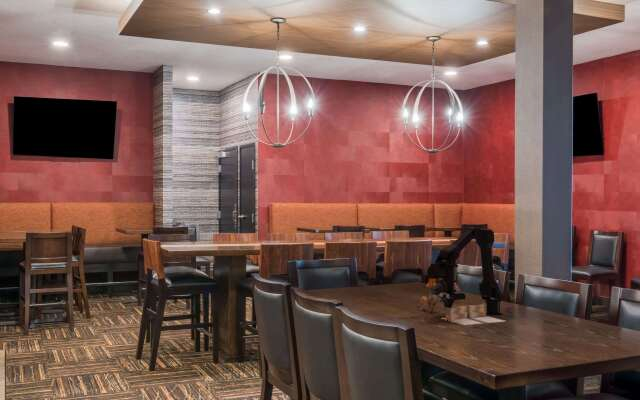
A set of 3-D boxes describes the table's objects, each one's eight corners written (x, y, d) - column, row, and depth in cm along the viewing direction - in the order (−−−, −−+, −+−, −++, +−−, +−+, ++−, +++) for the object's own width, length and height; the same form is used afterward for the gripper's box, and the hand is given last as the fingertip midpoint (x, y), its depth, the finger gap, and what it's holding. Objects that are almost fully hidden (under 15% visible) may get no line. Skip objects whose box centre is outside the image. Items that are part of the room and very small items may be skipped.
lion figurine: (442, 313, 322) (442, 293, 322) (433, 314, 319) (434, 294, 319) (420, 308, 335) (420, 290, 335) (412, 309, 332) (412, 291, 331)
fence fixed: (483, 316, 313) (483, 302, 313) (486, 317, 311) (486, 303, 311) (467, 318, 309) (467, 303, 309) (470, 318, 307) (470, 304, 307)
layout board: (481, 315, 316) (481, 314, 316) (505, 321, 301) (505, 320, 301) (440, 318, 307) (440, 318, 307) (464, 325, 291) (464, 324, 291)
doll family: (461, 303, 351) (461, 277, 351) (447, 305, 345) (447, 279, 345) (432, 298, 368) (432, 273, 368) (418, 300, 363) (418, 275, 363)
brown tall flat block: (466, 316, 309) (466, 304, 309) (469, 317, 308) (469, 305, 308) (445, 319, 302) (445, 307, 302) (448, 320, 300) (448, 307, 300)
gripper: (421, 275, 309) (420, 310, 309) (444, 281, 292) (444, 317, 292) (442, 274, 313) (441, 308, 314) (466, 280, 296) (465, 316, 297)
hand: (447, 312), depth 304 cm, fingers closed
